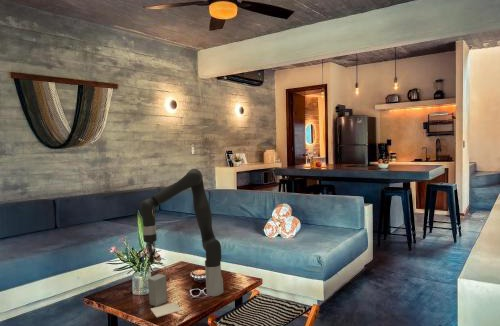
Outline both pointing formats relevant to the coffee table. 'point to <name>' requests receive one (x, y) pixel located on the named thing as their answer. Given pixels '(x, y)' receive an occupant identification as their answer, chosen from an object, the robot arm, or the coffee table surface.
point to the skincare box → (157, 290)
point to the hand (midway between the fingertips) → (151, 262)
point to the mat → (166, 309)
